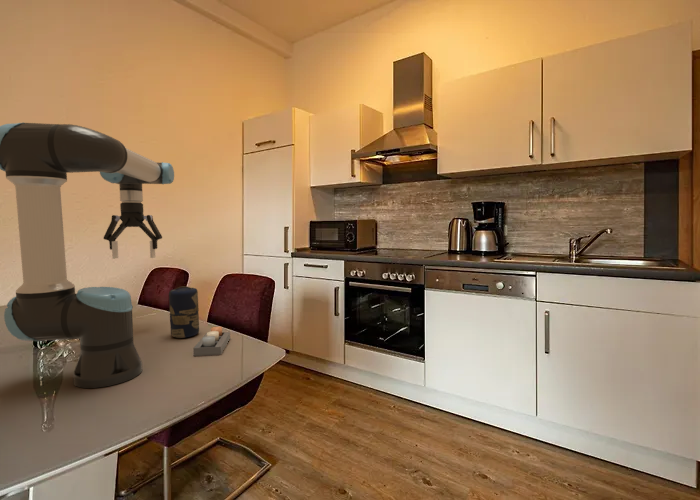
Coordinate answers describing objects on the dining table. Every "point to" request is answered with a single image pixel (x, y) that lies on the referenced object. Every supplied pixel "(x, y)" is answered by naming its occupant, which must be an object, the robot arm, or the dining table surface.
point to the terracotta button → (217, 330)
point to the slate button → (209, 341)
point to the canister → (184, 312)
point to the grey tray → (214, 350)
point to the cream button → (214, 334)
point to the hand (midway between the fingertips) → (134, 258)
